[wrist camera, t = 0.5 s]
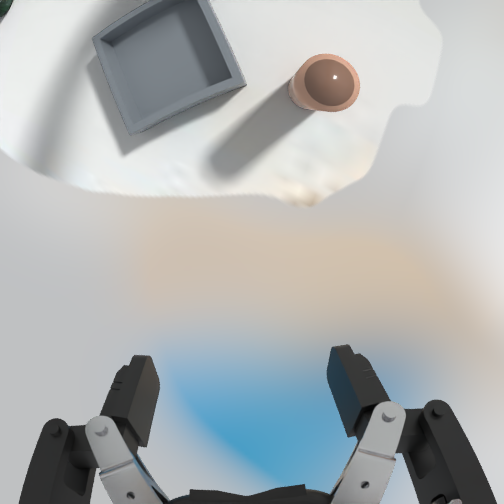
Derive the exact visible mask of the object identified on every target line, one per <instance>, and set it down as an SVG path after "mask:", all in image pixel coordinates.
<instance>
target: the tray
mask: <svg viewBox="0 0 504 504" xmlns="http://www.w3.org/2000/svg"><path fill="white" fill-rule="evenodd" d="M92 40H93V43H94V46H95V48H96V51H97V54H98V57H99V60H100V62H101V65H102V68H103V71H104V73H105V76H106V78H107V81H108V84H109V86H110V89H111V91H112V94H113V96H114V99H115V101H116V104H117V106H118V109H119V111H120V113H121V116H122V118H123V121H124V123H125V125H126V128H127V130H128V132H129V134H130V135H133V134H136V133H139V132H143V131H145V130H147V129H148V128H150V127H152V126H154V125H156V124H158V123H160V122H162V121H164V120H166V119H168V118H170V117H172V116H174V115H176V114H178V113H180V112H182V111H184V110H186V109H189V108H191V107H193V106H195V105H198V104H200V103H202V102H204V101H207V100H209V99H212V98H214V97H216V96H219V95H221V94H224V93H227V92H229V91H232V90H234V89H237V88H240V87H243V86H246V85H247V84H246V81H245V79H244V76H243V74H242V72H241V69H240V67H239V65H238V62H237V60H236V58H235V55H234V53H233V51H232V49H231V46H230V44H229V42H228V40H227V37H226V35H225V33H224V31H223V29H222V27H221V24H220V22H219V20H218V18H217V16H216V14H215V12H214V10H213V8H212V6H211V4H210V2H209V0H150V1H149V2H147V3H145V4H143V5H141V6H140V7H138V8H136V9H135V10H133V11H131V12H130V13H128V14H126V15H125V16H123V17H122V18H120V19H118V20H117V21H115V22H114V23H112V24H111V25H110V26H108V27H107V28H105V29H104V30H102V31H101V32H100V33H98V34H97V35H96V36H94V37H93V38H92Z"/></svg>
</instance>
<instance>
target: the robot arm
mask: <svg viewBox="0 0 504 504" xmlns="http://www.w3.org/2000/svg"><path fill="white" fill-rule="evenodd" d="M327 380H328V384H329V387H330V389H331V392H332V395H333V397H334V400H335V403H336V406H337V408H338V411H339V414H340V417H341V420H342V422H343V425H344V428H345V431H346V433H347V437H352V436H356V437H357V440H358V442H357V444H356V446H355V448H354V450H353V452H352V454H351V456H350V459H349V460H348V462H347V464H346V466H345V468H344V470H343V472H342V474H341V476H340V478H339V479H338V481H337V483H336V484H335V486H334V487H333V489H332V491H331V493H330V494H328V493H325V492H321V491H317V490H311V489H305V484H302V485H295V486H288V487H280V488H275V489H271V490H268V491H265V492H262V493H258V494H254V495H251V496H243V495H237V494H231V493H227V492H222V491H215V490H193V489H190V494H189V495H185V496H181V497H178V498H175V499H173V500H169V498H168V497H167V496H166V494H165V493H164V492H163V491H162V490H161V489H160V487H159V486H158V485H157V483H156V482H155V480H154V479H153V478H152V476H151V474H150V473H149V471H148V470H147V468H146V467H145V465H144V464H143V462H142V460H141V459H140V457H139V456H138V454H137V450H138V446H141V447H147V444H148V439H149V434H150V429H151V425H152V420H153V416H154V412H155V407H156V403H157V399H158V395H159V390H160V382H159V378H158V375H157V372H156V369H155V367H154V364H153V361H152V358H151V357H150V356H144V355H134V356H133V357H132V360H131V362H130V365H129V366H127V365H124V366H123V367H122V368H121V369H120V370H119V371H118V372H117V373H116V376H115V378H114V381H113V383H112V385H111V390H110V391H109V393H108V395H107V398H106V400H105V403H104V405H103V408H102V411H101V413H100V415H99V416H96V417H94V418H92V419H90V421H88V423H87V424H86V425H81V426H68V425H67V423H66V422H65V421H63V420H61V419H58V418H55V419H51V420H49V421H48V422H47V423H46V424H45V425H44V427H43V429H42V432H41V434H40V437H39V440H38V442H37V445H36V448H35V450H34V453H33V456H32V459H31V462H30V465H29V468H28V471H27V475H26V478H25V482H24V485H23V489H22V492H21V496H20V500H19V504H90V499H91V493H92V487H93V482H94V477H95V472H96V468H100V470H101V472H100V473H99V476H100V479H101V481H102V483H103V485H104V487H105V489H106V491H107V493H108V495H109V497H110V499H111V500H112V502H113V504H379V503H380V501H381V499H382V497H383V494H384V492H385V490H386V487H387V485H388V482H389V479H390V477H391V474H392V472H393V469H394V466H395V462H396V459H395V458H394V455H395V453H402V454H403V457H404V460H405V463H406V465H407V468H408V471H409V474H410V477H411V479H412V482H413V485H414V488H415V491H416V494H417V498H418V501H419V503H420V504H497V502H496V500H495V497H494V495H493V492H492V490H491V487H490V485H489V483H488V481H487V478H486V476H485V474H484V471H483V469H482V467H481V465H480V463H479V460H478V458H477V456H476V454H475V452H474V450H473V448H472V446H471V445H470V442H469V440H468V438H467V437H466V435H465V433H464V431H463V429H462V427H461V426H460V424H459V422H458V420H457V418H456V416H455V415H454V413H453V411H452V409H451V408H450V406H449V405H448V404H447V403H446V402H444V401H442V400H432V401H430V402H428V403H427V404H426V405H425V407H424V408H422V409H404V408H403V407H402V406H401V405H399V404H398V403H395V402H391V400H390V399H389V397H388V395H387V393H386V391H385V389H384V388H383V386H382V384H381V382H380V380H379V378H378V377H377V376H376V373H375V371H374V370H373V368H372V366H371V364H370V362H369V361H368V360H367V359H366V358H365V357H364V356H363V355H361V354H354V353H353V351H352V349H351V347H350V346H349V345H341V346H335V347H332V349H331V352H330V357H329V362H328V367H327Z"/></svg>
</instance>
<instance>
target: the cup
mask: <svg viewBox="0 0 504 504" xmlns="http://www.w3.org/2000/svg"><path fill="white" fill-rule="evenodd" d="M359 90H360V82H359V77H358V75H357V73H356V71H355V69H354V68H353V67H352V65H351V64H350V63H348V62H347V61H346V60H344V59H343V58H341V57H339V56H336V55H332V54H319V55H315V56H313V57H311V58H309V59H308V60H307V61H306V62H305V63H304V64H303V65H302V66H301V68H300V69H299V70H298V71H297V72H296V74H295V75H294V76H293V77H292V79H291V80H290V82H289V86H288V92H289V96H290V98H291V99H292V101H293V102H294V103H295V104H296V105H297V106H299V107H301V108H304V109H308V110H318V111H327V112H337V111H341V110H344V109H346V108H348V107H350V106H351V105H352V104H353V103H354V102H355V100H356V99H357V97H358V94H359Z"/></svg>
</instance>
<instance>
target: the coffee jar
mask: <svg viewBox="0 0 504 504" xmlns="http://www.w3.org/2000/svg"><path fill="white" fill-rule="evenodd" d="M12 1H13V0H0V17H2V16H3V15H4V14H5V13H6V11H7V10H8V9H9V7H10V5H11V3H12Z"/></svg>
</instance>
